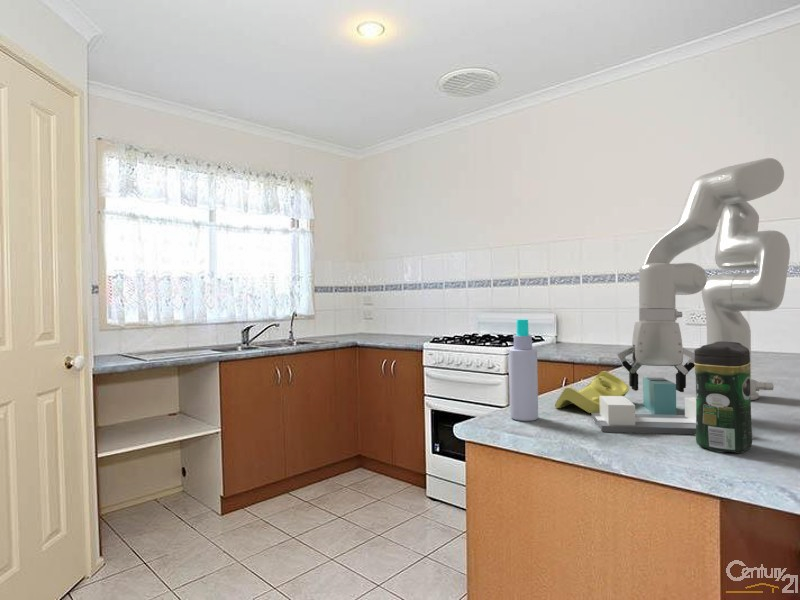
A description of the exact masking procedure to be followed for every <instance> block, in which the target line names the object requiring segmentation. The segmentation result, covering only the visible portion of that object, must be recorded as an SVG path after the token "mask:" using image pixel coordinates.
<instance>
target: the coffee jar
mask: <svg viewBox="0 0 800 600" xmlns="http://www.w3.org/2000/svg"><path fill="white" fill-rule="evenodd" d="M693 353H695V358H694V362H695V363H694V365H695V366H694V373H695V397H696V435H695V440H696V441H695V442H696V444H697V446H699V447H702V448H705V449H708V450H710V451H714V452H718V453H736V454H737V453H738V454H739V453H742V452H743V453H744V452H745V451H747V450H749V448H750V447H751V446H752V444H753V429H752V428H753V427H752V400H751V396H750V353H749V349H748V348H746V347H745V346H743V345H741V344H740V343H737V342H725V341H719V342H715V343H712V344H708V345H707V344H705V345H701V346H700V347H698V348H694V352H693Z"/></svg>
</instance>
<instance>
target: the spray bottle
mask: <svg viewBox="0 0 800 600" xmlns="http://www.w3.org/2000/svg"><path fill="white" fill-rule="evenodd" d="M532 339H533V338H532V335H531V334H529V319H525V318H523V319H519V318H518V319H516V335H515V334H514V335H513V347H510V348H508V349H509V350H508V355H509V356H508V357H509V359H508V363H509V366H508V367H509V402H510V403H509V412H510V413H509V415H510V416H509V417H510V418H511V419H513V420H514V421H519V422H532V421H536V420H538V418H539V390H538V389H539V388H538V387H539V386H538V385H539V384H538V378H539V377H538V376H539V375H538V349H537V348H535V347H533V340H532Z"/></svg>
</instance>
